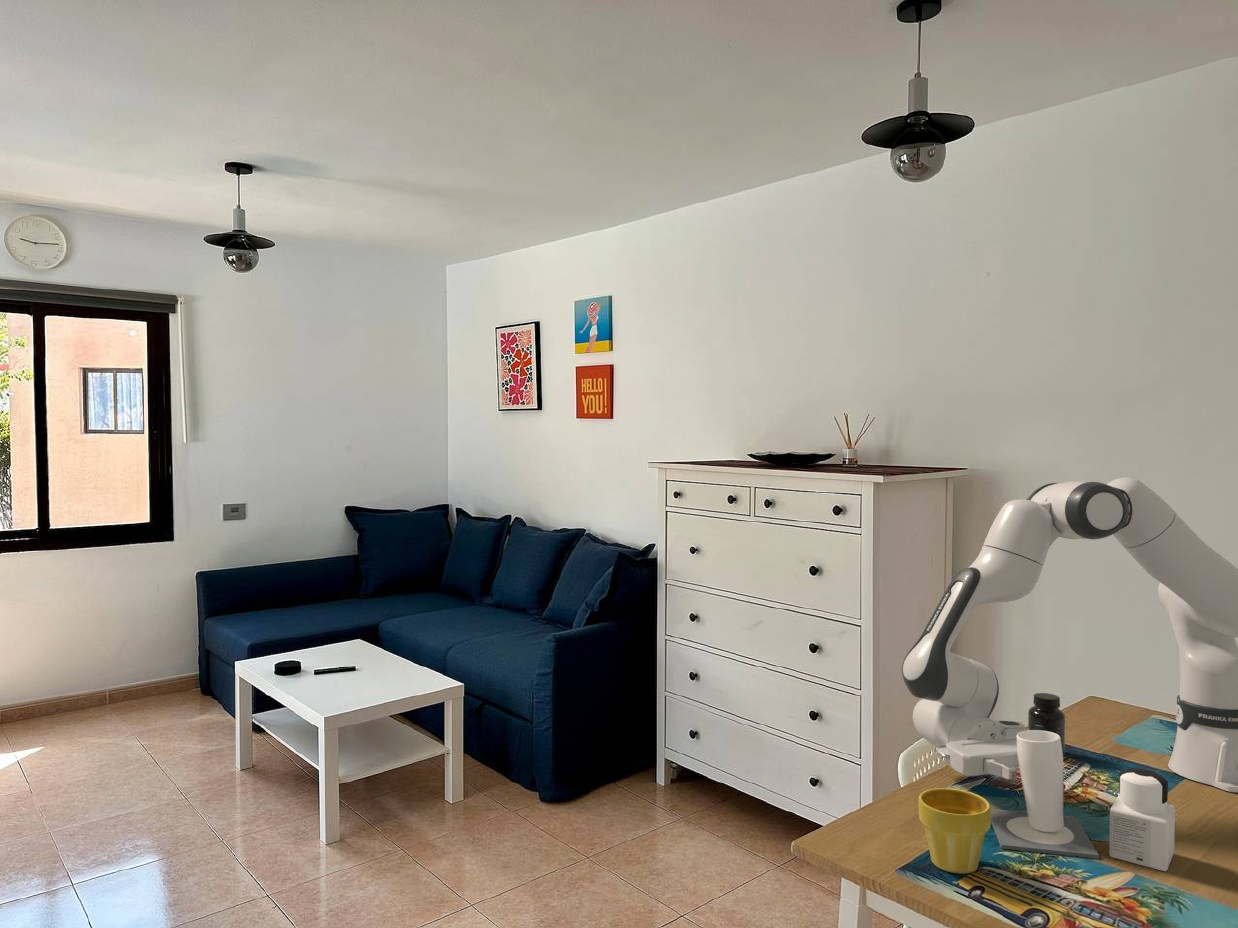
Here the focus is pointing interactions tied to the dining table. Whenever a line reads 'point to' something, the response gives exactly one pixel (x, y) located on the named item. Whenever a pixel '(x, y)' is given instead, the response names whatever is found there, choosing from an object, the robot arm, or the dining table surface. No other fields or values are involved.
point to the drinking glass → (1042, 778)
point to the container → (1142, 820)
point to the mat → (1040, 835)
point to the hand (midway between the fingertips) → (1036, 771)
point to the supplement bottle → (1047, 716)
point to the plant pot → (954, 827)
